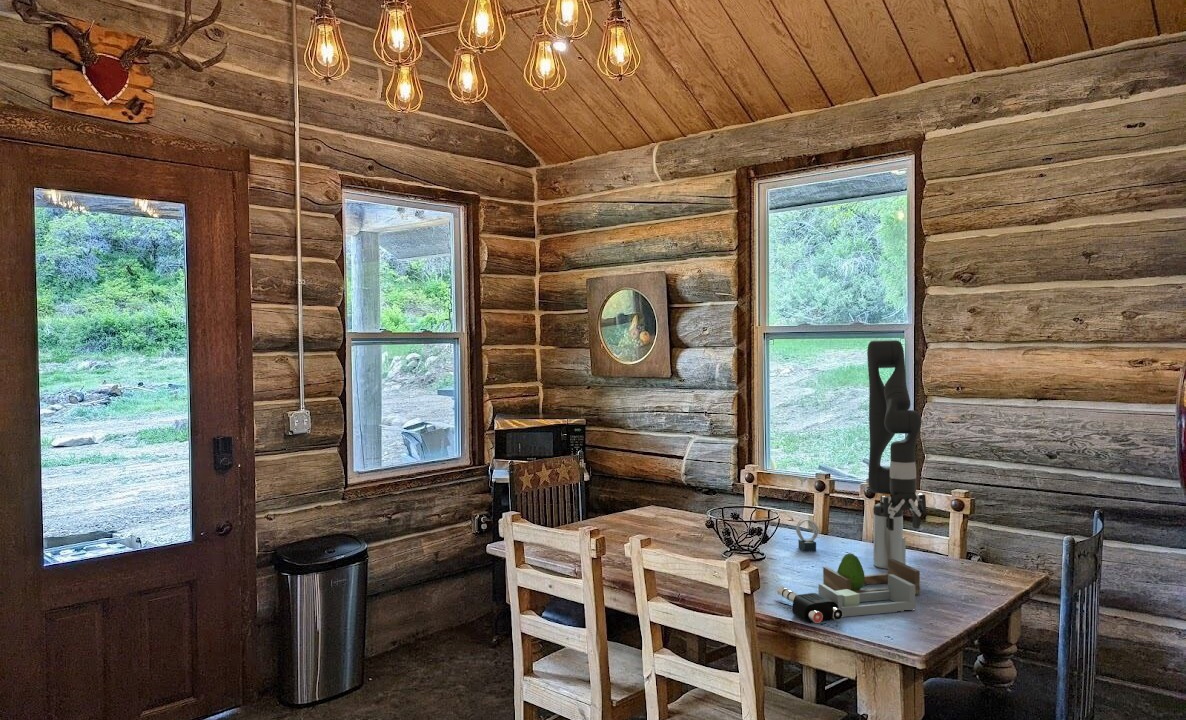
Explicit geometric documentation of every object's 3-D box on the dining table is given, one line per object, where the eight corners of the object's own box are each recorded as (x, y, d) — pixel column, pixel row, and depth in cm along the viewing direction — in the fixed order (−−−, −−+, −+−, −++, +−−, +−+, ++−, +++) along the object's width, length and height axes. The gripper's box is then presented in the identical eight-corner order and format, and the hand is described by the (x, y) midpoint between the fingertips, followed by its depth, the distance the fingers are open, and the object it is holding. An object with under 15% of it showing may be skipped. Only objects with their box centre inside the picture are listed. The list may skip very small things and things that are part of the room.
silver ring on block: (821, 550, 291) (821, 520, 291) (800, 552, 290) (799, 521, 289) (814, 547, 296) (814, 517, 296) (793, 548, 295) (793, 518, 295)
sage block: (847, 606, 231) (847, 588, 231) (859, 611, 226) (859, 593, 226) (833, 608, 229) (833, 591, 229) (845, 614, 224) (845, 596, 224)
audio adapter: (810, 608, 214) (761, 581, 238) (810, 628, 214) (761, 599, 238) (845, 603, 218) (793, 577, 241) (845, 623, 218) (793, 595, 241)
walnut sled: (892, 580, 254) (892, 558, 253) (919, 594, 240) (919, 570, 240) (823, 586, 249) (823, 563, 248) (846, 600, 235) (846, 576, 235)
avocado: (847, 598, 238) (847, 557, 237) (831, 590, 245) (831, 551, 245) (870, 595, 240) (870, 555, 240) (854, 587, 248) (853, 548, 247)
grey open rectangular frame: (892, 597, 237) (892, 574, 237) (915, 610, 226) (915, 585, 226) (818, 604, 232) (818, 580, 232) (838, 617, 221) (838, 591, 221)
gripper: (916, 472, 251) (916, 524, 252) (874, 475, 248) (875, 527, 249) (931, 476, 244) (931, 530, 244) (888, 479, 241) (889, 533, 241)
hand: (903, 529), depth 246 cm, fingers open, 8 cm apart
